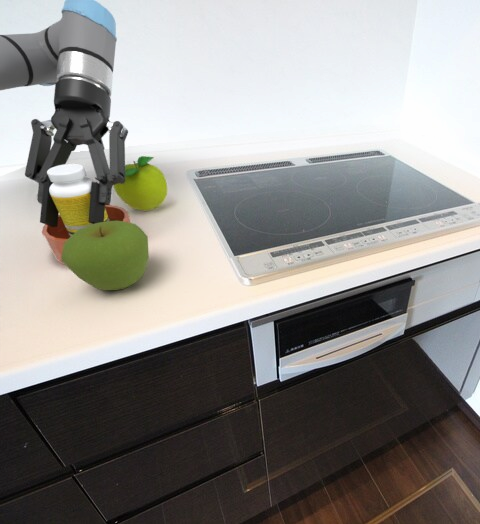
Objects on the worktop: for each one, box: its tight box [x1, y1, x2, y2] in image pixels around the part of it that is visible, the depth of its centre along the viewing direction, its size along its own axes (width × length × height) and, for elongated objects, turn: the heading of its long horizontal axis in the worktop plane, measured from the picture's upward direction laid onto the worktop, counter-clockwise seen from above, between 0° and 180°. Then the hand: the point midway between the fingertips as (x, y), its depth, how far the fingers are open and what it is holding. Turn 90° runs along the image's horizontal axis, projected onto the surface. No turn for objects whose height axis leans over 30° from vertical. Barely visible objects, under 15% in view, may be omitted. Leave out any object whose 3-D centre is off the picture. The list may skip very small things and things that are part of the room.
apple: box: [61, 221, 150, 291], centre depth 53 cm, size 11×10×10 cm
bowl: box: [41, 204, 132, 266], centre depth 62 cm, size 12×12×5 cm
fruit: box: [113, 155, 168, 212], centre depth 73 cm, size 9×9×10 cm
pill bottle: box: [47, 163, 110, 236], centre depth 58 cm, size 6×6×11 cm
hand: (72, 224), depth 57 cm, fingers closed on pill bottle, 6 cm apart
